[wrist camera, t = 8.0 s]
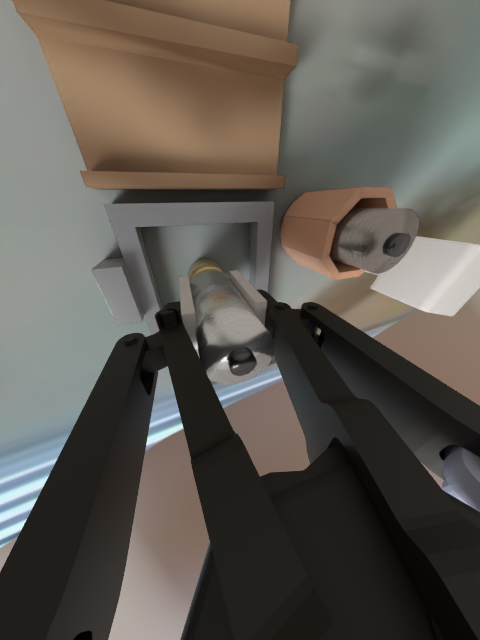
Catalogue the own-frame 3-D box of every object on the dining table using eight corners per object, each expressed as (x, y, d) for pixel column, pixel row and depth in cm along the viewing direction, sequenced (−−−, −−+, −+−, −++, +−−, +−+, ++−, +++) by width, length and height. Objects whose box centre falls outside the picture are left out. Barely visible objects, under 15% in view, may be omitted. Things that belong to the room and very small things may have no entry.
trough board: (-85, -310, 6) (-204, -547, 4) (293, -126, 9) (322, -208, 7) (98, 189, 13) (85, 187, 11) (271, 189, 16) (284, 188, 15)
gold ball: (185, 260, 17) (186, 270, 15) (221, 257, 18) (228, 265, 16) (191, 294, 19) (193, 307, 17) (223, 290, 20) (230, 302, 18)
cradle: (77, 204, 13) (55, 204, 11) (266, 201, 17) (281, 201, 14) (136, 340, 20) (131, 358, 18) (259, 317, 24) (269, 329, 22)
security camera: (343, 277, 25) (424, 312, 17) (374, 222, 22) (492, 232, 14) (372, 284, 27) (454, 317, 19) (403, 235, 24) (518, 251, 16)
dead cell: (295, 207, 17) (391, 209, 10) (329, 206, 18) (441, 208, 11) (290, 250, 20) (364, 279, 12) (320, 247, 21) (407, 273, 13)
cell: (185, 270, 15) (197, 342, 7) (231, 267, 16) (285, 326, 8) (191, 312, 17) (206, 400, 9) (232, 306, 18) (275, 382, 10)
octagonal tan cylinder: (283, 192, 17) (338, 186, 11) (339, 192, 18) (411, 187, 13) (277, 261, 20) (316, 282, 15) (323, 256, 22) (375, 274, 16)
